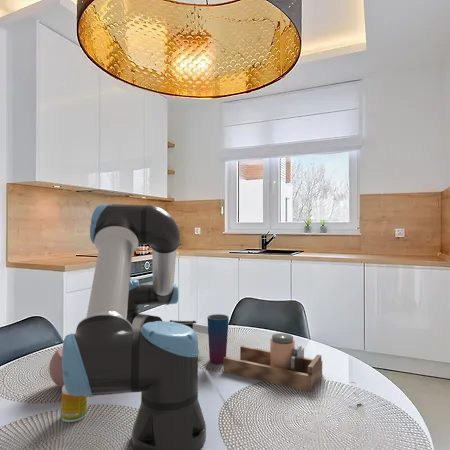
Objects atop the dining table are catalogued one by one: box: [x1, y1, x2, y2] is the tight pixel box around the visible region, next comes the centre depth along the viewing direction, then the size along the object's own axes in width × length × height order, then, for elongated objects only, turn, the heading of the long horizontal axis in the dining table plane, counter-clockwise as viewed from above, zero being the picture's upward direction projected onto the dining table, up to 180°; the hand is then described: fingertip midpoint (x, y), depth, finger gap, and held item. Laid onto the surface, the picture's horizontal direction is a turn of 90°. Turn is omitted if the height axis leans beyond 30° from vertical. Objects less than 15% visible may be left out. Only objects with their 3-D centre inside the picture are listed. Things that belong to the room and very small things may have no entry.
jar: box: [269, 332, 296, 370], centre depth 103 cm, size 7×7×11 cm
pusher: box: [291, 344, 305, 373], centre depth 101 cm, size 1×9×9 cm, turn 151°
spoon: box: [349, 381, 367, 419], centre depth 89 cm, size 4×21×2 cm, turn 168°
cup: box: [207, 313, 230, 365], centre depth 113 cm, size 7×7×15 cm
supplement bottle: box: [61, 385, 88, 423], centre depth 82 cm, size 5×5×10 cm
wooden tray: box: [223, 345, 323, 393], centre depth 104 cm, size 26×12×7 cm, turn 61°
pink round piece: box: [48, 347, 64, 389], centre depth 97 cm, size 12×12×12 cm
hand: (198, 335), depth 117 cm, fingers open, 13 cm apart
